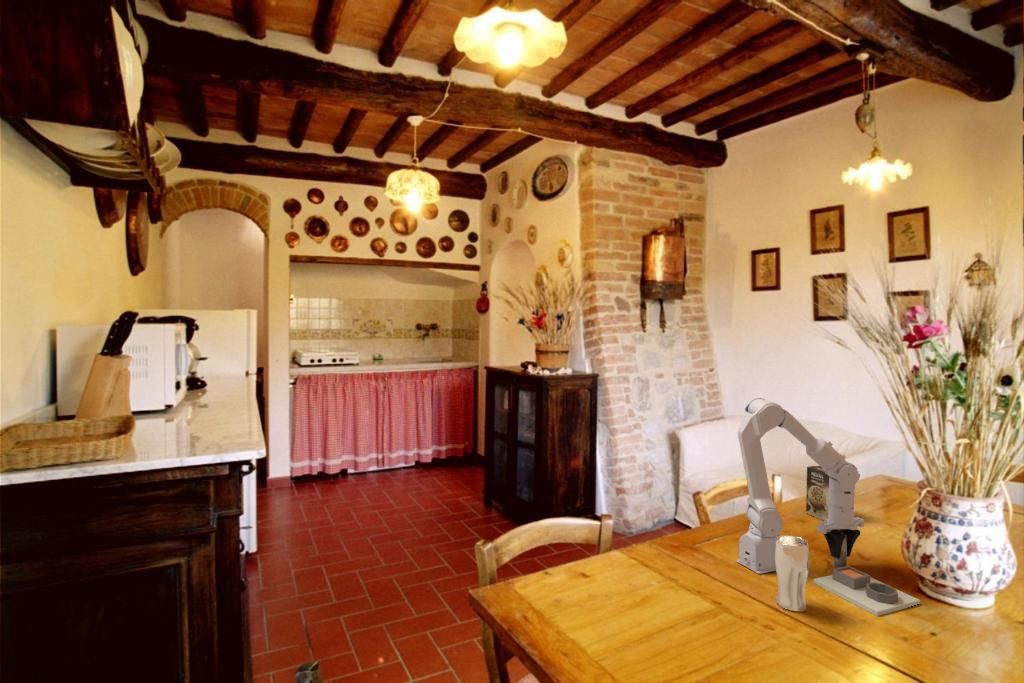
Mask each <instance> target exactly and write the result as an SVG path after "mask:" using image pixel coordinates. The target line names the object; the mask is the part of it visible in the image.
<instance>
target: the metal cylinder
mask: <svg viewBox="0 0 1024 683" xmlns="http://www.w3.org/2000/svg"><path fill="white" fill-rule="evenodd" d="M839 532H840V531H839ZM840 534H843V535H845V536H846V537H845V539H844V541H843V543H842V548H841V556H840V559H837V558H834V557H833V565H832V566H833V568H834V569H836V568H841V567H845V566H848V565H847V564H848V557H847V534H846V533H844V532H840Z"/></svg>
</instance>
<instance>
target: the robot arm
mask: <svg viewBox="0 0 1024 683" xmlns="http://www.w3.org/2000/svg"><path fill="white" fill-rule="evenodd" d="M739 423H740V424H739V426H738V429H737V437H738V442H739V447H740V453H741V457H742V463H743V469H744V474H745V479H746V484H747V490H748V494H749V496H748V497H747V500H746V501H747V507H746V511H745V516H746V518H747V520H748V522H749V527H748V531H747V532H746V533H745V534H743V535H741V536H740V537H739V542H738V544H739V545H738V549H739V550H738V551H739V552H738V559H736V562H737V563H739V564H740V565H742V566H743V567H746V568H747V569H749V570H751V571H752V572H755V573H757V574H758V575H760V574H761V575H762V574H765V573H770V572H774V571H775V572H776V566H775V546H776V537H778V536H780V534H781V533H782V531H783V529H784V521H783V518H782V517H781V516H780V515H779V513H778V510H777V506H776V503H775V502H774V501H773V498H772V496H771V490H770V484H769V479H768V475H767V468H766V464H765V459H764V453H763V449H762V448H763V447H762V443H761V439H762V438H763V437H764V435H765V434H766V433H768V432H770V431H771V430H773V429H775V428H776V427H778V428H782V429H784V430H786V431H787V432H788V433H789V434H790V435H792V437H793V438H795V439H796V440H797V441H799V442H800V443H801V444H802V445H804V447H805V453H806V454H807V456H808V457H810V459H812V460H813V461H814V462H815V463H816V464H817V466H821V467H822V468H823V469H824V470H825V473H826V475H829V476H830V477H831V478H830V477H829V514H828V519H827V520H826V521H822V522H820V523H817V525H816V527H817V528H816V531H817V532H818V533H820V534H823V536H824V538H825V540H826V543H827V546H828V548H829V553H830V556H831V557H832V558H833V559H834V558H837V559H840V556H841V548H842V543H843V541H844V539H845V537H846V536H845V535H843V534H840V532H844V533H846V534H847V558H849V557H851V553H852V552H853V551H852V550H853V547H854V545H855V543H856V541H857V539H858V538H859V536H861V530H859V529H858V527H859V528H862V527H863V528H864V526H865V519H863V518H860V517H858V516H856V517H855V490H856V484H857V483H858V482H859V481H860V478H861V474H860V473H859V471H858V467H857V466H856V465H855V464H853V463H851V462H849V461H847V460H846V456H845V455H844V454H842V453H840V452H838V451H837V450H836V449H835V448H834V447H833V445H834V444H833V443H832V441H830V440H825V439H823V438H816V437H815V436H814V435H813V434H812V433H810V431H809V430H808V429H807V428H806V427H805V426H804V425H803V424H802V423H800V422H799V420H797V418H796V417H795V416H794V415H792V413H790V412H789V411H788V410H786V409H784V408H783V407H782V406H781V405H780V404H778V403H777V402H771V401H769V400H766V399H765V398H761V397H757V398H753V399H751V400H750V401H749V402H748V403H747V404H746V405H745V406H744V407H743V415H742V417H741V421H740V422H739ZM832 478H833V479H832ZM839 531H840V532H839Z"/></svg>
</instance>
